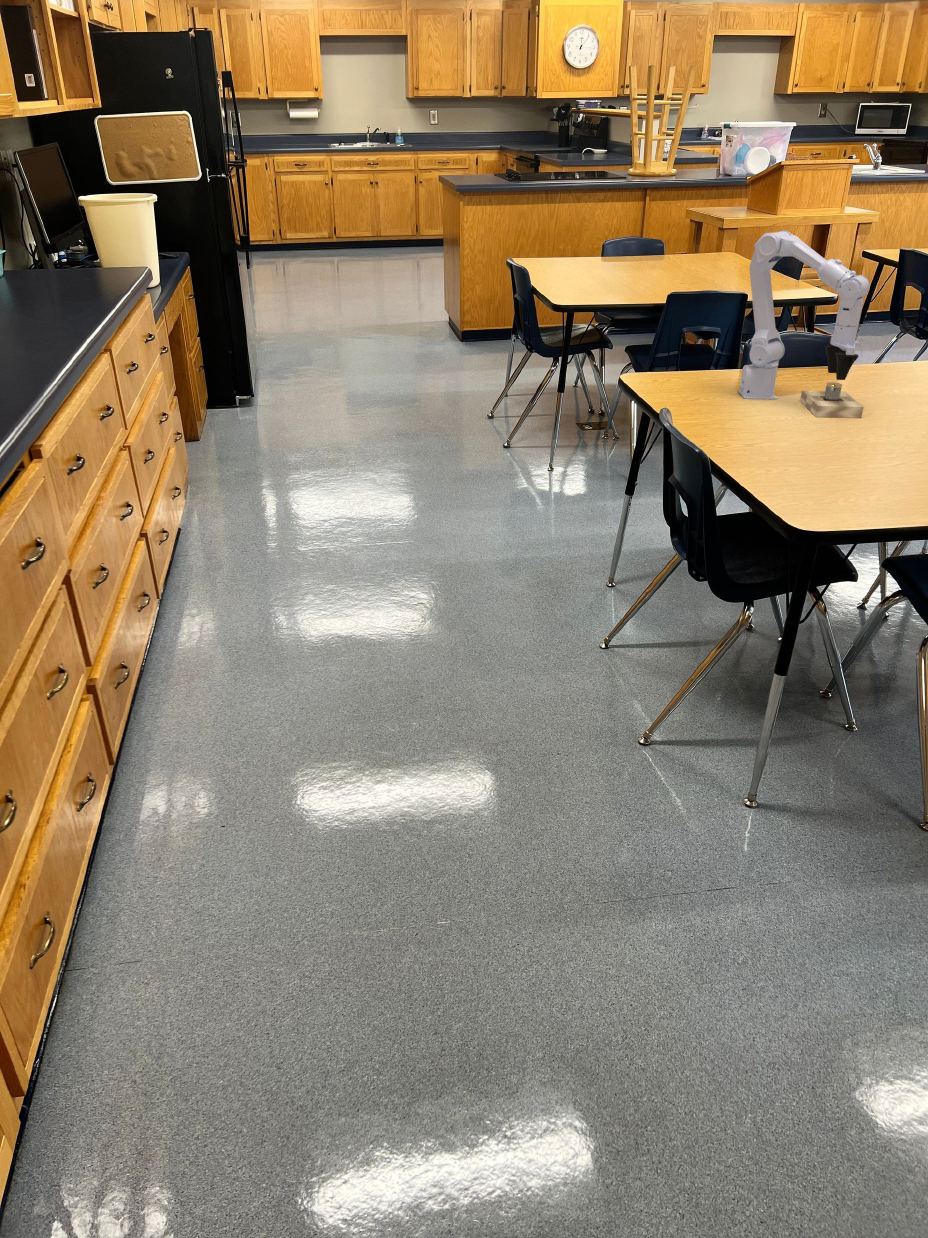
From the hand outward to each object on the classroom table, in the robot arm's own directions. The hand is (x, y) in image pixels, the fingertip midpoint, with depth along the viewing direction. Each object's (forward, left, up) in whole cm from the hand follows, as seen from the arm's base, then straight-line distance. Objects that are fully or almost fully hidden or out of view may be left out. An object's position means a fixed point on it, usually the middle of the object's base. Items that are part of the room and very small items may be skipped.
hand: (836, 376), depth 244 cm
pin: (0, 0, -9) cm, 9 cm away
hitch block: (0, 0, -9) cm, 9 cm away
